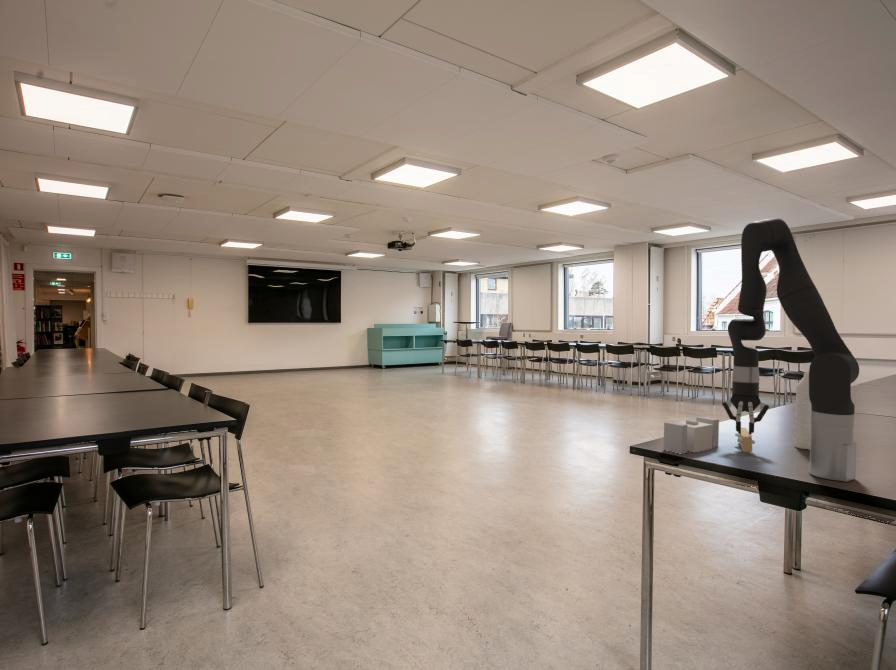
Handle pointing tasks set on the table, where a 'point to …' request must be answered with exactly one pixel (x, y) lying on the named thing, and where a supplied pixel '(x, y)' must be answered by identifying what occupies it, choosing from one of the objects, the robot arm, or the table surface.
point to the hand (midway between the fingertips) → (744, 433)
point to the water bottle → (803, 414)
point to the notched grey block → (691, 435)
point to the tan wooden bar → (745, 440)
